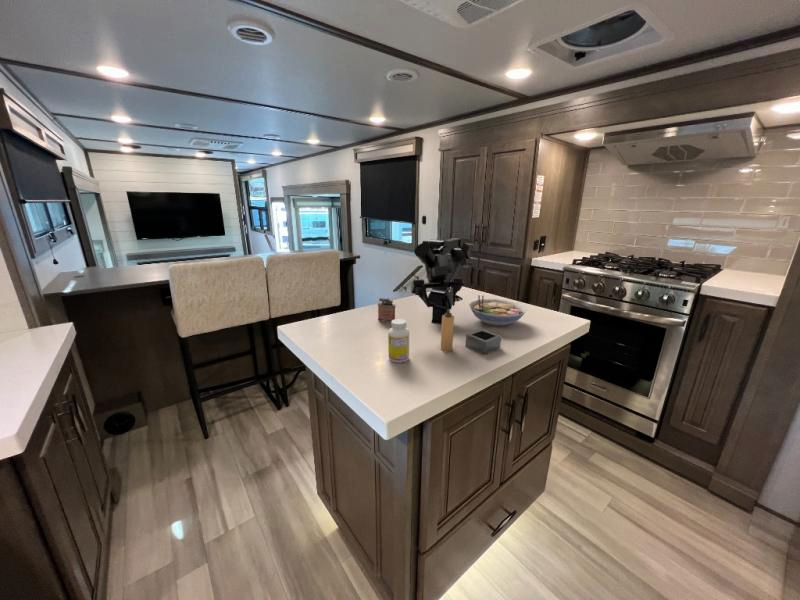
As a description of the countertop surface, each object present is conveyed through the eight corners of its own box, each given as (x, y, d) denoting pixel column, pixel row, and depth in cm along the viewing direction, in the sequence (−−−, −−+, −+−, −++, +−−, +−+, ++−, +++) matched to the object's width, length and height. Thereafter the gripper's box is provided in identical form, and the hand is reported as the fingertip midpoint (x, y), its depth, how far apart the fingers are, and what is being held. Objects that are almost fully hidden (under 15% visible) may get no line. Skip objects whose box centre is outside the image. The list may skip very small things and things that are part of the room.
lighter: (396, 321, 134) (396, 298, 131) (393, 323, 131) (393, 300, 128) (380, 318, 137) (379, 296, 134) (376, 320, 134) (376, 298, 131)
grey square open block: (484, 354, 104) (486, 342, 102) (465, 346, 110) (466, 334, 109) (500, 348, 109) (501, 336, 107) (480, 340, 115) (481, 328, 114)
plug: (439, 351, 106) (441, 310, 102) (441, 346, 110) (443, 306, 106) (451, 352, 105) (454, 311, 101) (452, 347, 109) (455, 307, 105)
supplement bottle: (393, 352, 105) (393, 316, 101) (412, 356, 103) (412, 319, 99) (385, 361, 99) (384, 323, 95) (404, 365, 97) (404, 326, 93)
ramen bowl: (527, 337, 118) (530, 316, 115) (466, 331, 123) (467, 311, 121) (521, 315, 141) (523, 298, 139) (469, 311, 147) (470, 294, 144)
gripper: (413, 257, 109) (420, 296, 102) (463, 255, 112) (474, 293, 105) (407, 274, 119) (414, 311, 112) (454, 273, 122) (463, 308, 115)
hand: (441, 306), depth 111 cm, fingers open, 9 cm apart
